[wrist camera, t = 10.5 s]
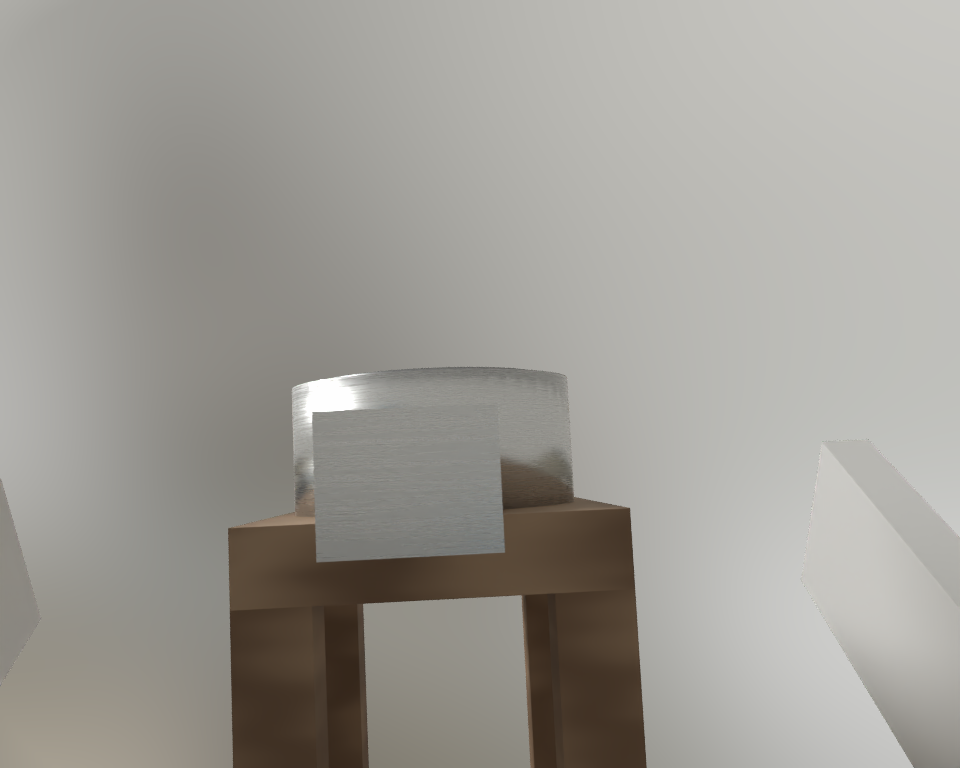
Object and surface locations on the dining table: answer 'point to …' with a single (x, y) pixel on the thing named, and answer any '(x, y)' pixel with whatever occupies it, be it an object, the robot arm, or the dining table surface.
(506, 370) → the silver saucepan
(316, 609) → the tall stand
